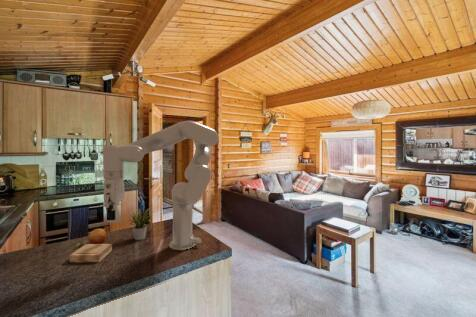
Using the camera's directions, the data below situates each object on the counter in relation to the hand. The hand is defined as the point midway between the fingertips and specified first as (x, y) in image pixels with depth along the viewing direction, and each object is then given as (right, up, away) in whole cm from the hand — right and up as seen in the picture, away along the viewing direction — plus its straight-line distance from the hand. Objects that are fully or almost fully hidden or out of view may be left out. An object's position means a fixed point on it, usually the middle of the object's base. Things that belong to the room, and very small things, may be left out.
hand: (114, 217), depth 104 cm
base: (-13, -19, +6) cm, 23 cm away
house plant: (+1, -18, +29) cm, 34 cm away
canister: (0, -2, 0) cm, 2 cm away
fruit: (-19, -18, +21) cm, 33 cm away
